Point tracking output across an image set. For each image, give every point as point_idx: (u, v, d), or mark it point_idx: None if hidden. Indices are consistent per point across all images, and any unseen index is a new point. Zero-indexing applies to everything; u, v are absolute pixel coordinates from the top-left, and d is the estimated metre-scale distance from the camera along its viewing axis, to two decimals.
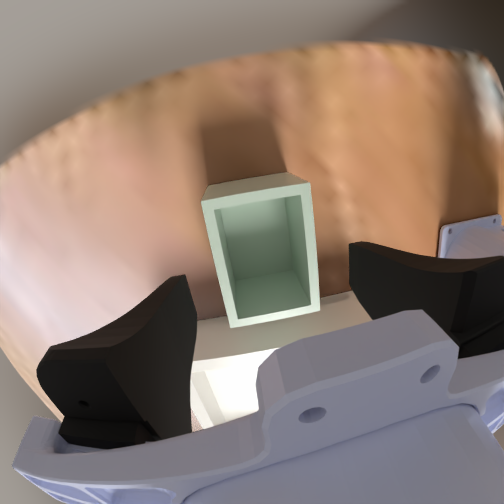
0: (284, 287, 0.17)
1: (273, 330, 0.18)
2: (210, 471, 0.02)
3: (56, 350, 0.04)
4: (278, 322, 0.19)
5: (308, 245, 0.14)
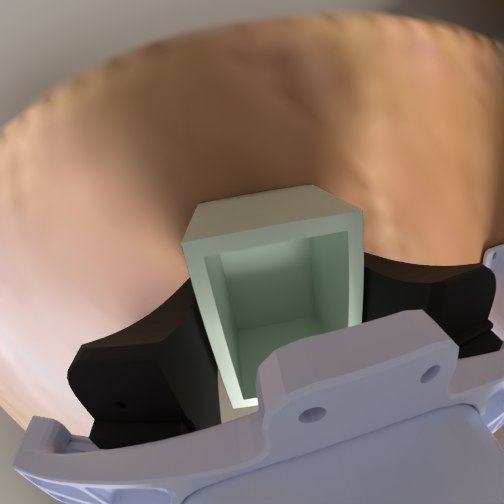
0: None
1: None
2: (210, 471, 0.02)
3: (92, 348, 0.05)
4: None
5: (352, 305, 0.08)
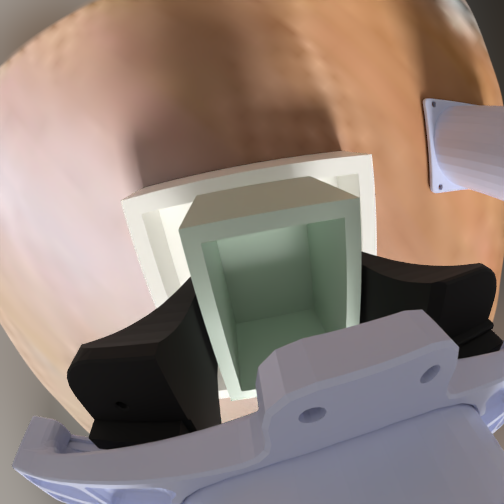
0: (304, 337, 0.12)
1: (244, 168, 0.16)
2: (210, 471, 0.02)
3: (92, 348, 0.05)
4: (251, 166, 0.16)
5: (350, 294, 0.08)
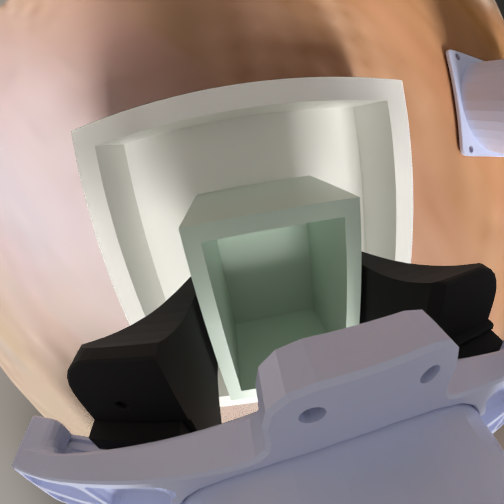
0: (304, 337, 0.12)
1: None
2: (210, 471, 0.02)
3: (92, 348, 0.05)
4: None
5: (350, 293, 0.08)
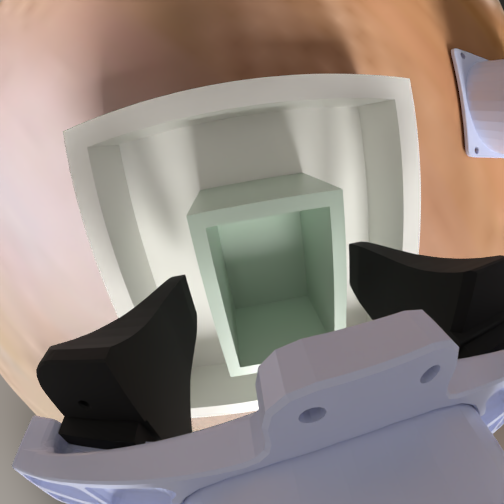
0: (298, 320, 0.13)
1: None
2: (210, 471, 0.02)
3: (56, 350, 0.05)
4: None
5: (336, 275, 0.10)
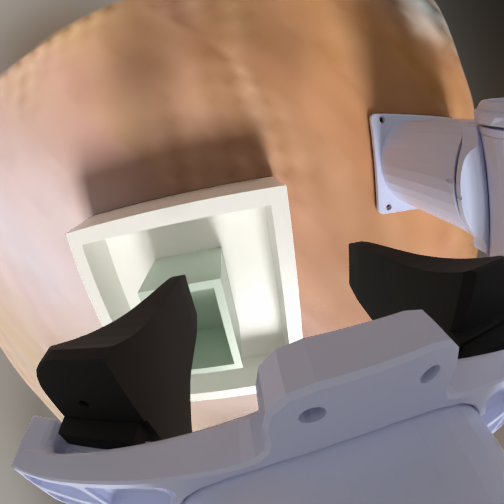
0: (219, 343, 0.20)
1: (167, 202, 0.17)
2: (210, 471, 0.02)
3: (56, 350, 0.05)
4: (176, 198, 0.18)
5: (225, 323, 0.17)
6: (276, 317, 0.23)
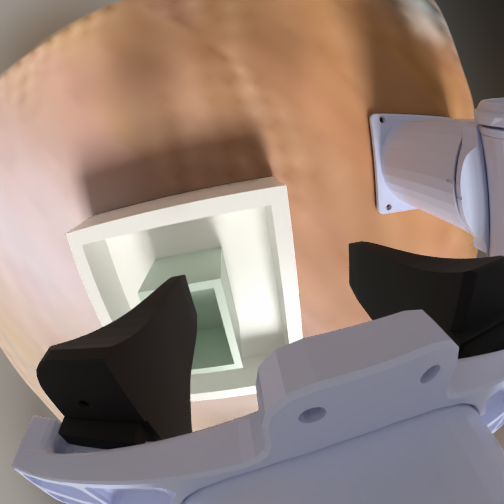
0: (219, 343, 0.20)
1: (167, 202, 0.17)
2: (210, 471, 0.02)
3: (56, 350, 0.05)
4: (176, 198, 0.18)
5: (225, 323, 0.17)
6: (276, 317, 0.23)
